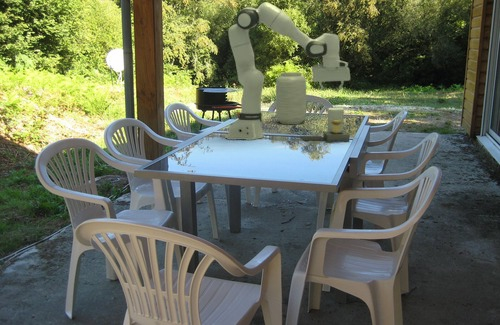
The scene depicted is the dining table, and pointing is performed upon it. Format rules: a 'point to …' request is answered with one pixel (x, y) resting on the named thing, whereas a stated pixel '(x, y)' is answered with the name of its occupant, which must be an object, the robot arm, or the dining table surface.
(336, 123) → the knob
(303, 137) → the mat
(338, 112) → the supplement box
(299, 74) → the vase
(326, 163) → the dining table surface
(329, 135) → the housing
